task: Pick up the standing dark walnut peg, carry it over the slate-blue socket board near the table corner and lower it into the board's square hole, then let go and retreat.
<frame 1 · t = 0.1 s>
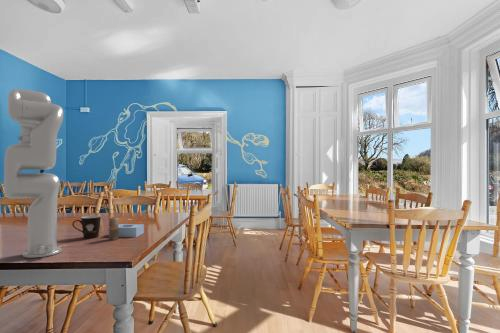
hand: (29, 173, 153), 31 cm above the table, fingers open, 9 cm apart
coffee mug: (88, 237, 148), on the table
peg: (113, 239, 143), on the table
socket board: (126, 234, 153), on the table
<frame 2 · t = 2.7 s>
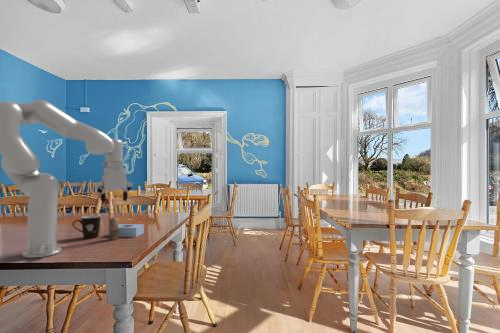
hand: (114, 201, 144), 18 cm above the table, fingers open, 9 cm apart
nothing on the table moved.
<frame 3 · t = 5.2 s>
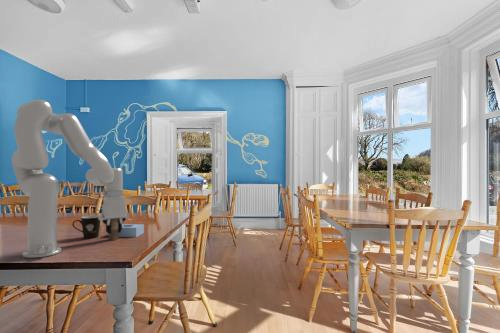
hand: (114, 232, 143), 3 cm above the table, fingers closed on peg, 4 cm apart
peg: (113, 239, 143), on the table, touching gripper
everything else where it was.
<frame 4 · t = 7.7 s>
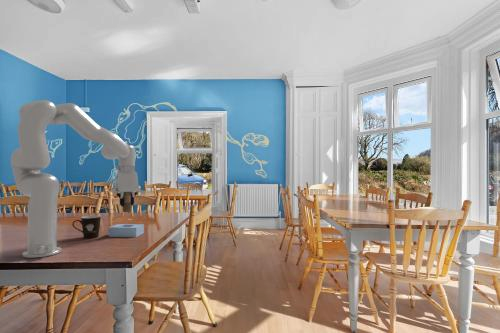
hand: (126, 205, 153), 15 cm above the table, fingers closed on peg, 4 cm apart
peg: (126, 211, 153), point 12 cm above the table, touching gripper
everything else where it was.
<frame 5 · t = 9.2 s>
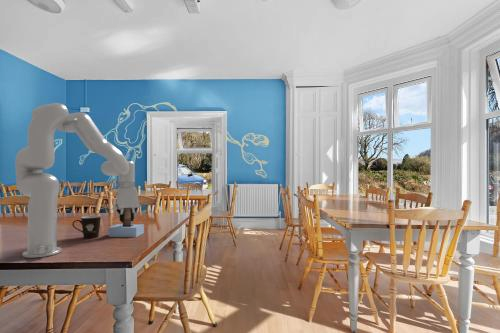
hand: (126, 221, 153), 7 cm above the table, fingers closed on peg, 4 cm apart
peg: (126, 227, 153), point 4 cm above the table, touching gripper
everything else where it was.
when the fingers open (6 cm above the table, at t = 10.3 s): peg drops 2 cm, resting in socket board.
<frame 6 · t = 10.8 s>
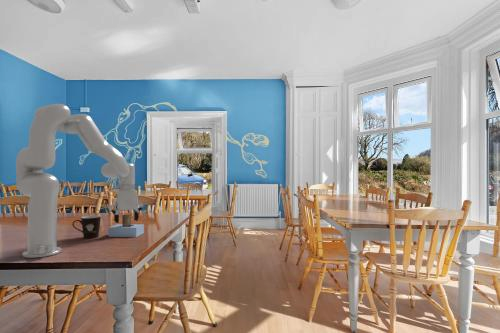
hand: (126, 221, 153), 7 cm above the table, fingers open, 9 cm apart
peg: (126, 234, 153), resting in socket board
everything else where it was.
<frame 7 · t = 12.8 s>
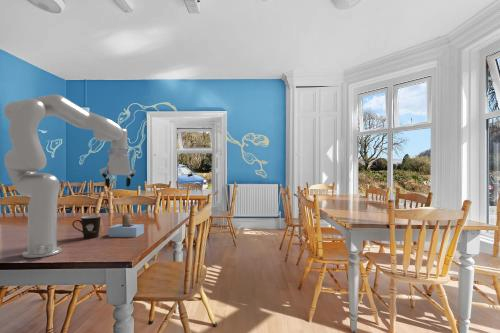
hand: (118, 186, 152), 24 cm above the table, fingers open, 9 cm apart
nothing on the table moved.
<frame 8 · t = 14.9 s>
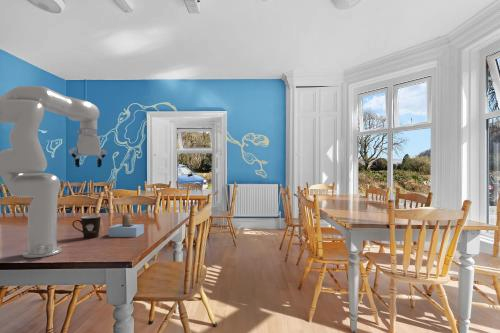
hand: (88, 167, 152), 34 cm above the table, fingers open, 9 cm apart
nothing on the table moved.
at the end: peg 0.0 cm off-centre on the socket board, point 0.0 cm above the socket board's base; peg tilted 0°; the gripper is holding nothing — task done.
